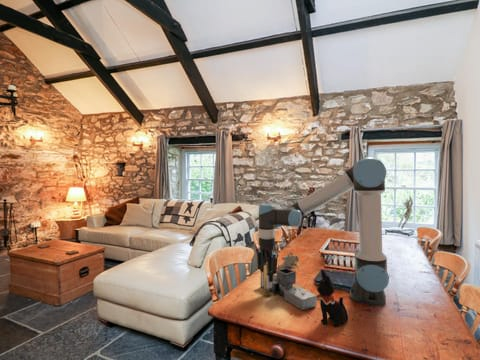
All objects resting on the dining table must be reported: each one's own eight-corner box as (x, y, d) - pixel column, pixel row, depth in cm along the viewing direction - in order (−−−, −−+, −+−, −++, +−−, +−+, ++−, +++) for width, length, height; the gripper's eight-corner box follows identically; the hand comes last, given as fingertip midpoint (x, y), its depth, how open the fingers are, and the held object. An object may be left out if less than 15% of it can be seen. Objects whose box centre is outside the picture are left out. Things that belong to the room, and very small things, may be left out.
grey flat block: (316, 305, 124) (316, 295, 124) (302, 310, 120) (302, 299, 120) (297, 295, 134) (297, 285, 134) (284, 299, 130) (284, 288, 130)
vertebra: (292, 272, 159) (286, 254, 162) (277, 275, 166) (271, 258, 168) (309, 263, 175) (303, 247, 177) (294, 266, 181) (289, 251, 184)
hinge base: (296, 295, 135) (296, 271, 135) (284, 299, 130) (285, 275, 130) (272, 283, 149) (272, 261, 148) (260, 287, 144) (260, 264, 143)
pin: (271, 294, 134) (271, 264, 134) (266, 295, 132) (266, 266, 132) (267, 291, 137) (267, 263, 136) (262, 293, 135) (262, 264, 134)
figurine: (313, 317, 115) (313, 268, 114) (344, 316, 116) (345, 268, 115) (320, 328, 107) (320, 276, 106) (353, 327, 109) (354, 275, 108)
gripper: (284, 239, 129) (284, 290, 130) (261, 233, 142) (261, 279, 143) (272, 242, 125) (272, 294, 126) (249, 235, 137) (250, 283, 138)
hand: (266, 286), depth 134 cm, fingers closed on pin, 3 cm apart
